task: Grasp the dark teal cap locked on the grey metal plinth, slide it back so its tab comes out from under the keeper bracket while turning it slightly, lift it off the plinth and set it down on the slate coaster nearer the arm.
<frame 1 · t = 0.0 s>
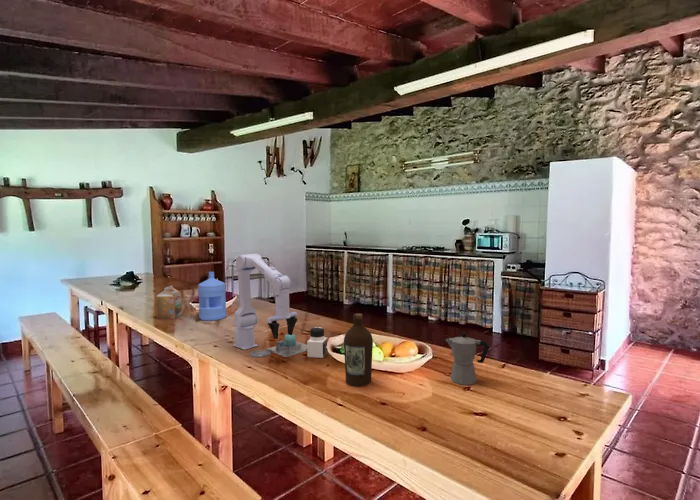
hand: (283, 336, 175), 10 cm above the table, tool pointing down, fingers open, 7 cm apart
milk carton: (169, 317, 253), on the table
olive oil: (358, 382, 152), on the table
medicine bottle: (317, 355, 182), on the table
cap: (290, 344, 189), point 2 cm above the table, touching post base
post base: (290, 349, 190), on the table
coaster: (260, 353, 184), on the table
water jug: (213, 318, 251), on the table
coffeepot: (466, 381, 152), on the table
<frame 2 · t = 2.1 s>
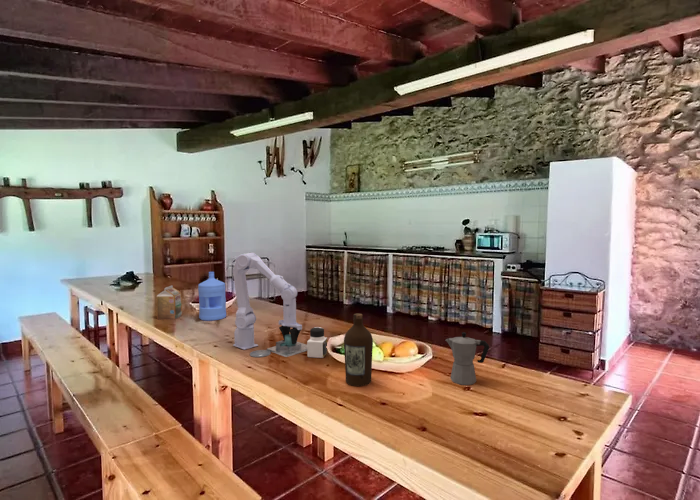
hand: (290, 342, 189), 3 cm above the table, tool pointing down, fingers closed on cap, 5 cm apart
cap: (290, 344, 189), point 3 cm above the table, touching gripper, post base
everything else where it was.
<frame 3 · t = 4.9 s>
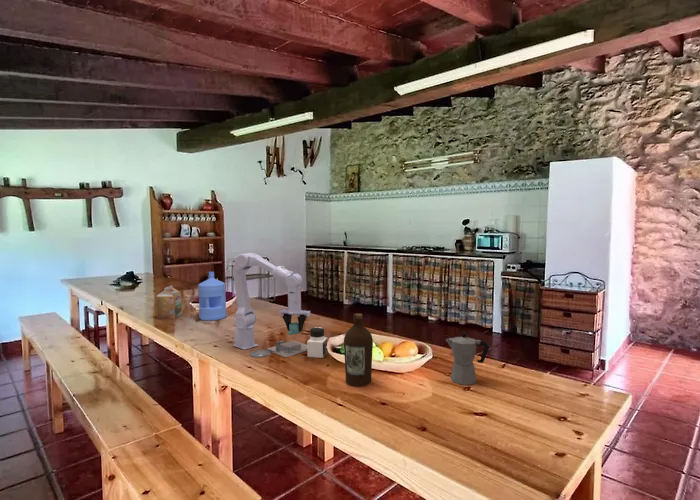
hand: (294, 330, 187), 9 cm above the table, tool pointing down, fingers closed on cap, 5 cm apart
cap: (294, 332, 187), point 9 cm above the table, touching gripper
everything else where it was.
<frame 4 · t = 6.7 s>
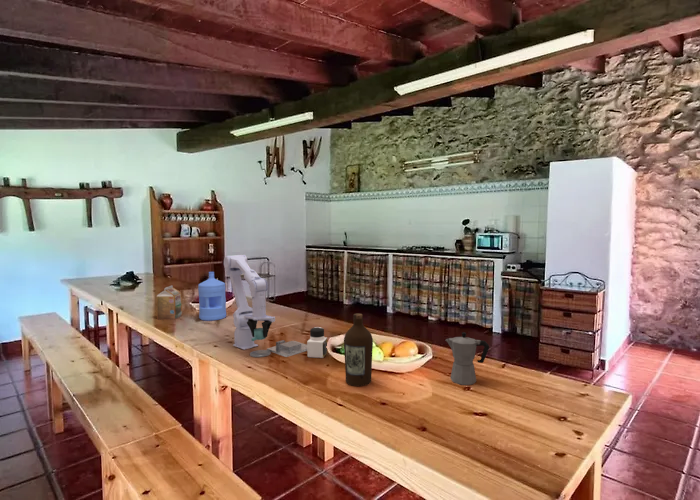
hand: (259, 336, 183), 8 cm above the table, tool pointing down, fingers closed on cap, 5 cm apart
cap: (260, 338, 183), point 7 cm above the table, touching gripper
everything else where it was.
when the fingers open (3 cm above the table, at t = 8.1 s): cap drops 2 cm, resting on coaster.
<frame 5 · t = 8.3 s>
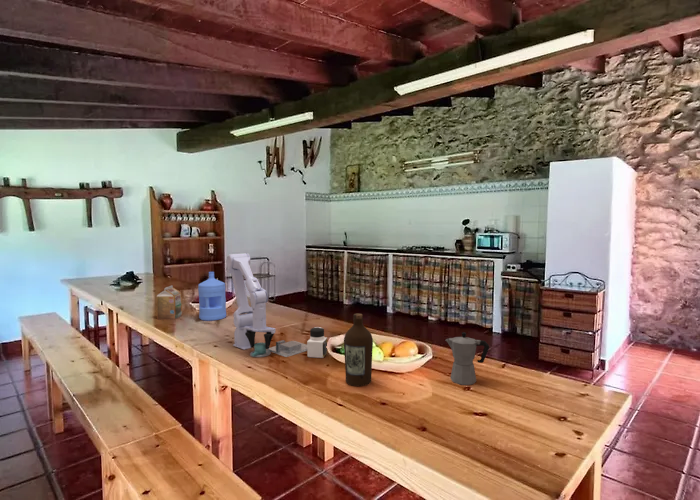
hand: (260, 347, 183), 3 cm above the table, tool pointing down, fingers open, 7 cm apart
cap: (260, 352, 184), resting on coaster
everything else where it was.
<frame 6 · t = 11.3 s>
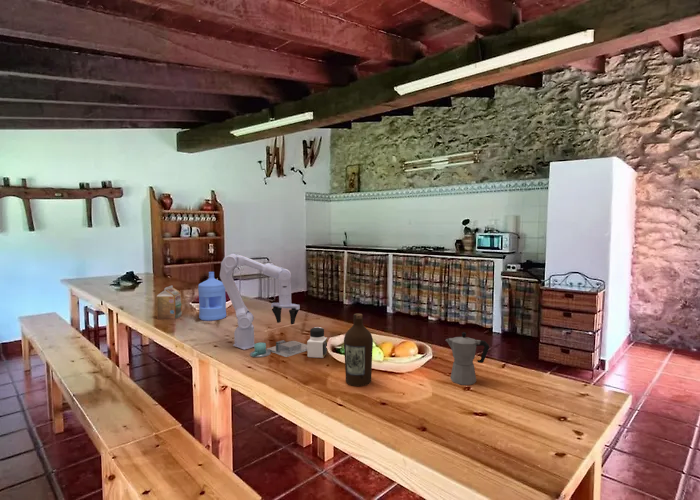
hand: (285, 323, 196), 10 cm above the table, tool pointing down, fingers open, 7 cm apart
nothing on the table moved.
at the end: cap 0.1 cm from the coaster (horizontally); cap resting on coaster; the gripper is holding nothing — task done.
